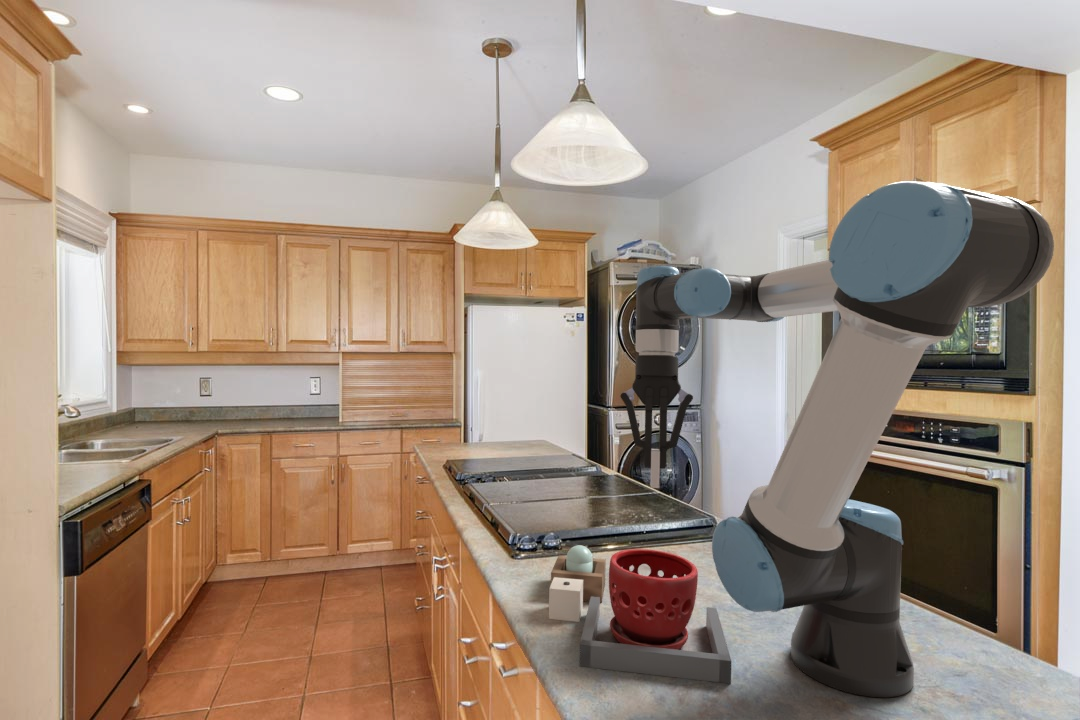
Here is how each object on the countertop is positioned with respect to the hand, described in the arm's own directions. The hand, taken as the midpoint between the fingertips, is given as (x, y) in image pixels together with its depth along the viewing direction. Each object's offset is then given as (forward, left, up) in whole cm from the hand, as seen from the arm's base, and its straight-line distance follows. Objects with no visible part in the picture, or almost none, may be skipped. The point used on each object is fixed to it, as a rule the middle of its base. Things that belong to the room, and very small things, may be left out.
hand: (654, 486), depth 104 cm
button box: (+13, 0, -20) cm, 24 cm away
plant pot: (0, +17, -20) cm, 26 cm away
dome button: (+13, 0, -19) cm, 23 cm away
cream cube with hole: (+14, +10, -20) cm, 27 cm away
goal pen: (0, +17, -20) cm, 26 cm away
